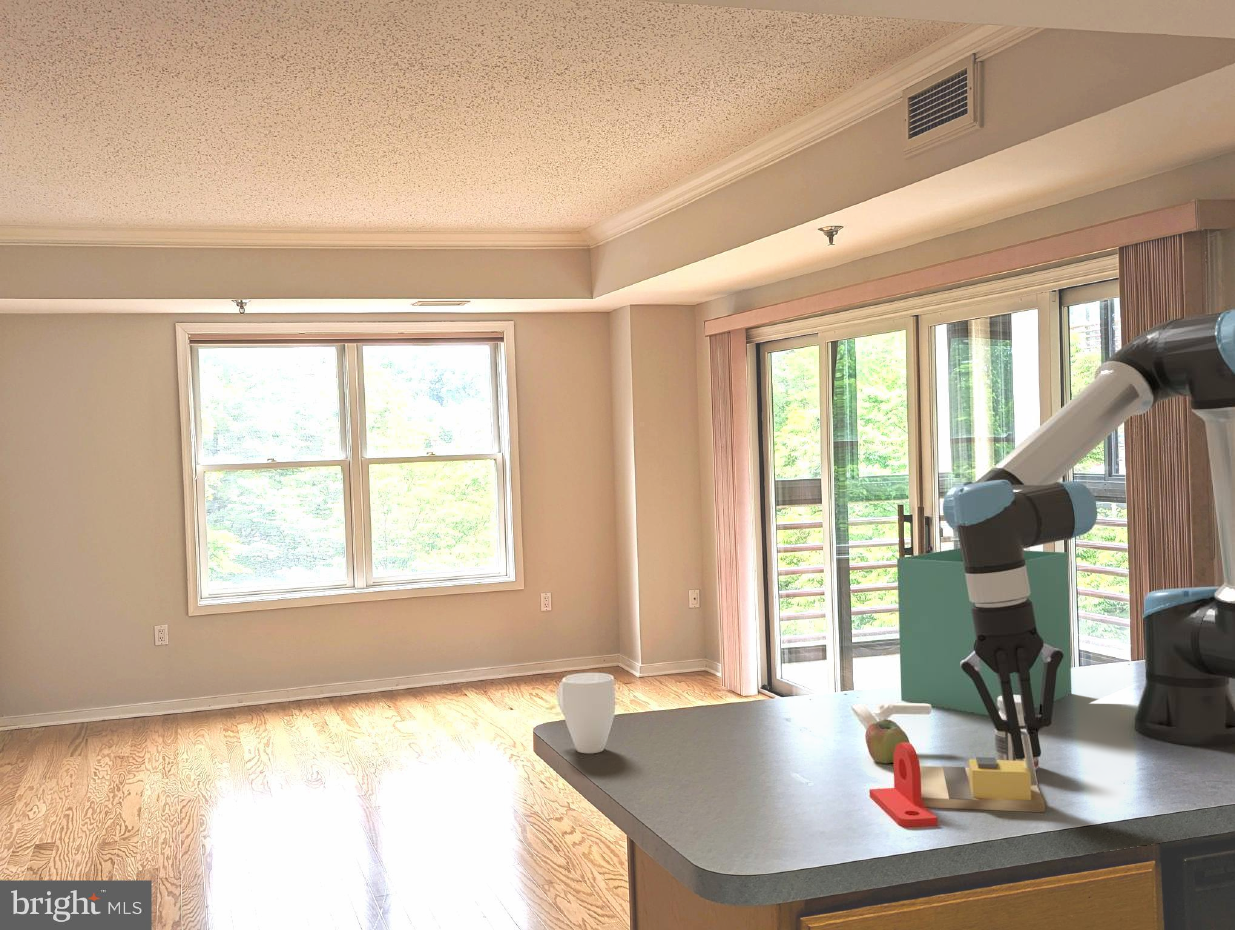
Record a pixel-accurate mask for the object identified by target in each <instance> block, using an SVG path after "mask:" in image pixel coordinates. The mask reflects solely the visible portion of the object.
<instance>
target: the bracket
mask: <svg viewBox="0 0 1235 930" xmlns="http://www.w3.org/2000/svg"><path fill="white" fill-rule="evenodd" d="M920 766H921V765H920V761H919V756H918V754H917V751H916V749H915V747H914V746H913V744H912V743H911V742H910V743H898V744H897V745H896V747H895V750H894V763H893V787H885V788H884V787H883V788H870V789H868V791H869V792H868V793H869V798H870V799H871V800H872V801H873V802H874V803H875V804H876V805H877V806H878V807H879V808H880V809H881V810H882V811H883V812H884V813H886V815H888V817H890V819H892V821H894V822H895V823H896V824H897V825H898V826H899V827H901V828H907V829H910V828H912V829H913V828H926V827H938V825H939V824H938V823H939V822H938V817H937V816H936V815H935V814H934V813H933V812H931V811H930V810H929V809H928V807H925V806H924V805H923V802H922V798H921V772H920Z"/></svg>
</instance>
